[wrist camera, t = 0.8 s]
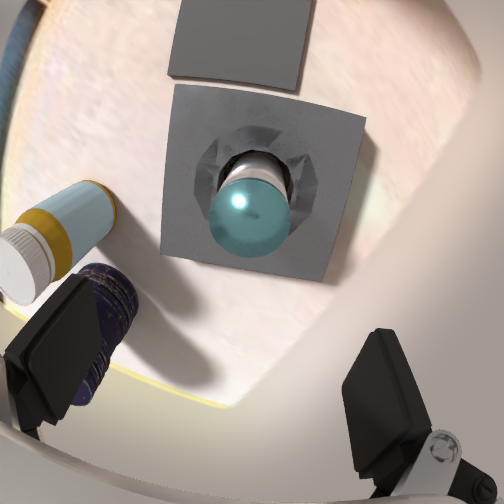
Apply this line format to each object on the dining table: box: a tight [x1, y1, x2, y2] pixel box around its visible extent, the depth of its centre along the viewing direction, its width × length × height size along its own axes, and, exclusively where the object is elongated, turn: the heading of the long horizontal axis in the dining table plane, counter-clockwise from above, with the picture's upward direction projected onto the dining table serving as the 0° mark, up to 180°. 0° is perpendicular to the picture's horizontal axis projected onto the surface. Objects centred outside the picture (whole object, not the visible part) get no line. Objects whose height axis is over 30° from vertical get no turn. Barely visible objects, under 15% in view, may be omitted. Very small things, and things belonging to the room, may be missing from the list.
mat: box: [167, 0, 312, 91], centre depth 22 cm, size 12×12×1 cm
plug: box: [208, 152, 291, 258], centre depth 24 cm, size 5×5×12 cm
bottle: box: [0, 180, 116, 306], centre depth 25 cm, size 7×7×15 cm
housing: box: [160, 84, 366, 282], centre depth 28 cm, size 16×16×4 cm
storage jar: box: [70, 263, 139, 406], centre depth 30 cm, size 10×10×15 cm
